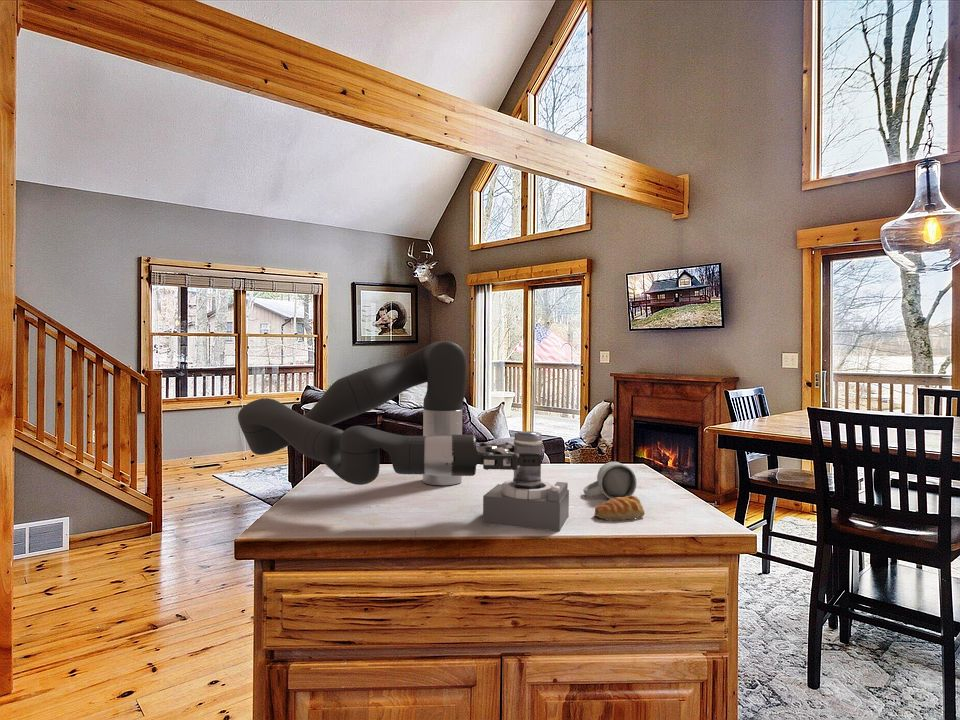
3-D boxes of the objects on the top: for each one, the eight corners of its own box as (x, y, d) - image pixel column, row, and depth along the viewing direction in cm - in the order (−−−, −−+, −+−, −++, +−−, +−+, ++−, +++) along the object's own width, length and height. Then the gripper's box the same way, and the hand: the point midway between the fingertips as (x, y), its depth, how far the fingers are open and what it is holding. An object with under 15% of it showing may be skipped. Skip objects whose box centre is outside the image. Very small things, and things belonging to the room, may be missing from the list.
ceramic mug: (628, 492, 134) (628, 458, 134) (637, 501, 126) (637, 465, 126) (580, 492, 134) (580, 458, 134) (586, 501, 126) (586, 465, 126)
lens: (516, 488, 115) (517, 430, 114) (543, 490, 113) (544, 431, 113) (509, 494, 110) (511, 433, 109) (537, 497, 108) (539, 435, 108)
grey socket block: (497, 509, 118) (498, 472, 118) (568, 516, 114) (569, 477, 114) (482, 523, 109) (483, 483, 109) (559, 531, 105) (560, 489, 105)
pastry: (608, 525, 110) (609, 504, 110) (585, 516, 116) (586, 496, 116) (647, 518, 114) (647, 498, 114) (623, 510, 120) (623, 491, 120)
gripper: (449, 467, 118) (531, 468, 119) (449, 484, 104) (542, 484, 104) (450, 429, 118) (532, 430, 118) (450, 440, 103) (543, 441, 104)
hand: (537, 455), depth 111 cm, fingers open, 8 cm apart
